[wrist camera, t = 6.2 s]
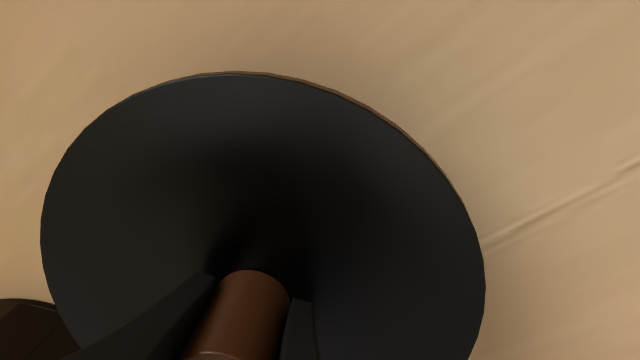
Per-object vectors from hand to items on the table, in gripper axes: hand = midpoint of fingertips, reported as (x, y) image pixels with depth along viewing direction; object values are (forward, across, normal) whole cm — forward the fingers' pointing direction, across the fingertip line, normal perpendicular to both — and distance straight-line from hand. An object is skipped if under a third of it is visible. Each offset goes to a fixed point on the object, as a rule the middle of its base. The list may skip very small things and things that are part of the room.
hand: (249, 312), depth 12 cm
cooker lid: (+1, 0, 0) cm, 1 cm away
